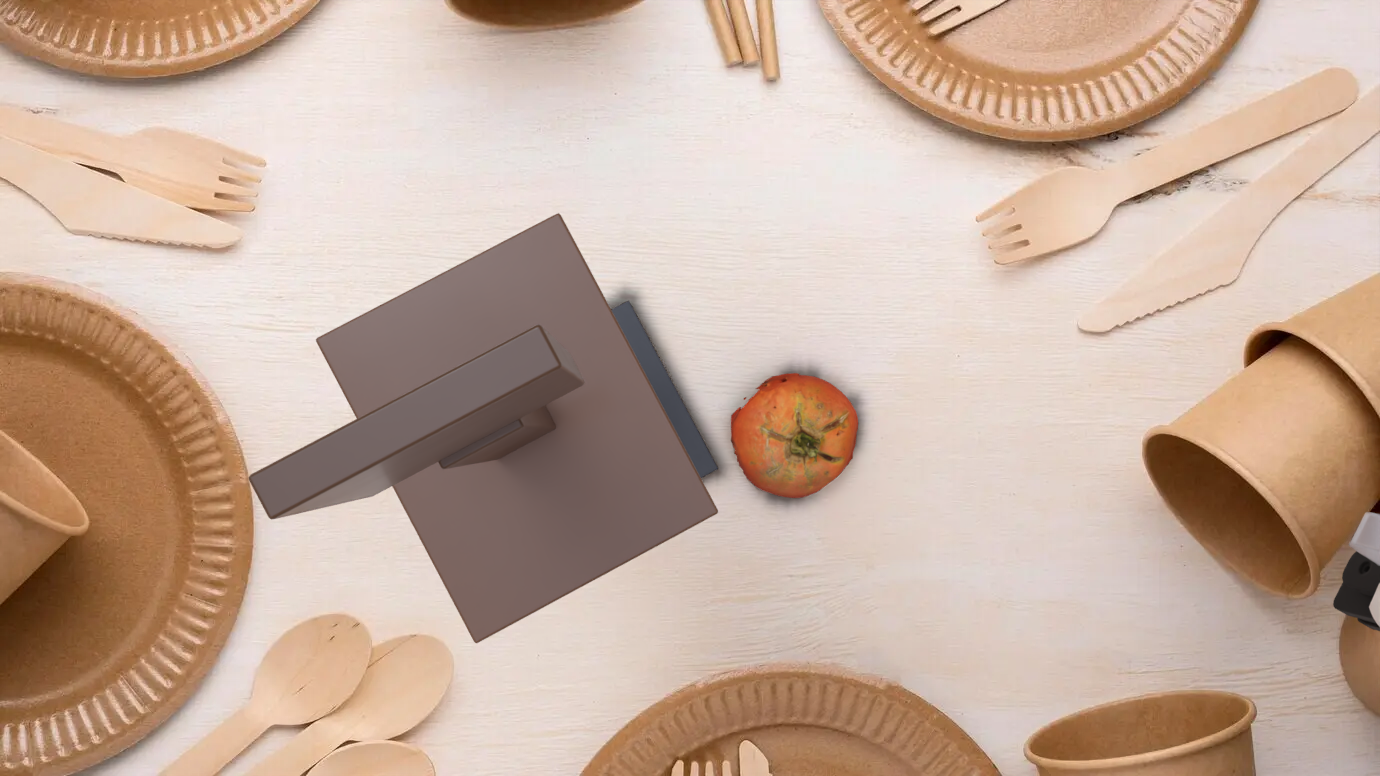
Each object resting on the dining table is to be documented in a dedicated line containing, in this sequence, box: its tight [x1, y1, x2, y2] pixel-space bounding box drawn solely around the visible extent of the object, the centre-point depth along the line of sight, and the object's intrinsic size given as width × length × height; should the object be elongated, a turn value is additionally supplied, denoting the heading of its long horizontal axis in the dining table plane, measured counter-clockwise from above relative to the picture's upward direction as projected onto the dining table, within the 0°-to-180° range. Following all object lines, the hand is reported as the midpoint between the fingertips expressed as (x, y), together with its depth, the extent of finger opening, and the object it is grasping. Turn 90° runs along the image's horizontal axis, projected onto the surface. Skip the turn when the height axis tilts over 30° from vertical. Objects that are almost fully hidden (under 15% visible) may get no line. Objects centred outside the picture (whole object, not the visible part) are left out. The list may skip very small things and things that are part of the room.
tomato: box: [730, 372, 859, 499], centre depth 66 cm, size 8×7×7 cm
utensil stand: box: [248, 212, 719, 644], centre depth 42 cm, size 12×12×50 cm
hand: (1367, 580), depth 40 cm, fingers closed
